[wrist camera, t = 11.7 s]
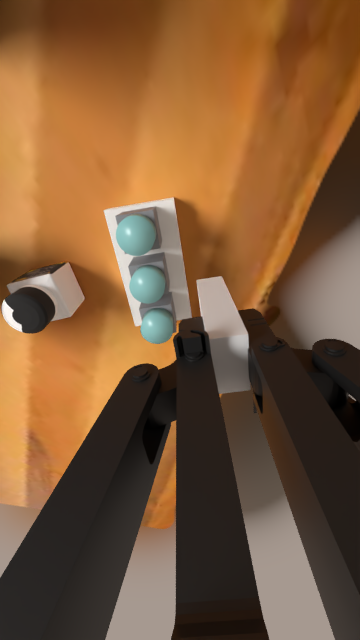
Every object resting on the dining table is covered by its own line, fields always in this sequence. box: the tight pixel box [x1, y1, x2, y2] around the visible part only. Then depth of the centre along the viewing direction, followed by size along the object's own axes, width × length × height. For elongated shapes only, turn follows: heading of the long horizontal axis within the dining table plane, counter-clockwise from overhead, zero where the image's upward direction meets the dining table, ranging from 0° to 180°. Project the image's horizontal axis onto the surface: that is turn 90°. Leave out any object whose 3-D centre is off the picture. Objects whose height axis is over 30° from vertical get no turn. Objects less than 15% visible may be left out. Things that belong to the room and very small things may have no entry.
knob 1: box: [116, 214, 156, 256], centre depth 35 cm, size 5×5×8 cm
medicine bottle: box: [1, 261, 85, 333], centre depth 40 cm, size 7×7×12 cm
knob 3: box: [141, 308, 173, 344], centre depth 41 cm, size 5×5×8 cm
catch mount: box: [104, 197, 192, 333], centre depth 40 cm, size 10×19×8 cm, turn 9°
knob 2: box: [129, 265, 165, 304], centre depth 38 cm, size 5×5×8 cm
